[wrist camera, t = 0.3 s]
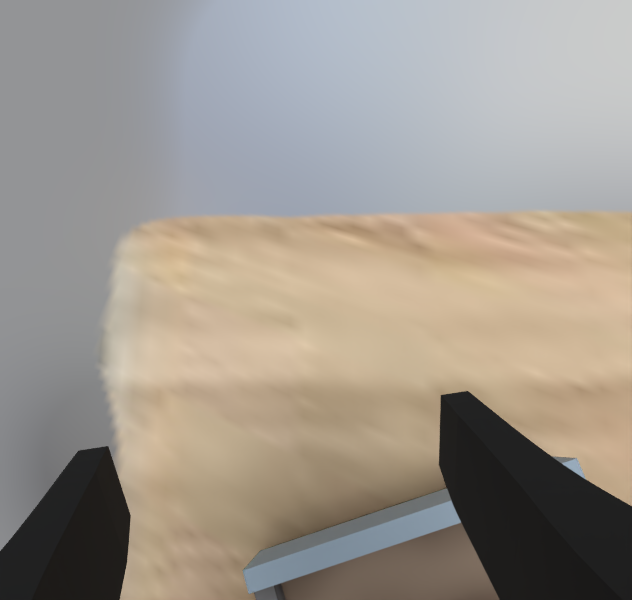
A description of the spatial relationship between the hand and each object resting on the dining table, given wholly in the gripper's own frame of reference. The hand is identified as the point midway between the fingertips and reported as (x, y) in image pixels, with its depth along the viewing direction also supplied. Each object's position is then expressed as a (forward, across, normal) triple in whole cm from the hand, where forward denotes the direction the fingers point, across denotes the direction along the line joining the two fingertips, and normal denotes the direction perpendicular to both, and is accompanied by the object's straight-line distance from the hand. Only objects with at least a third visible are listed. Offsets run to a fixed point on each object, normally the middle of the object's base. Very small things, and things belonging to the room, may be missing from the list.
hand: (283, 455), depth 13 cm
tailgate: (+16, -7, +21) cm, 27 cm away
